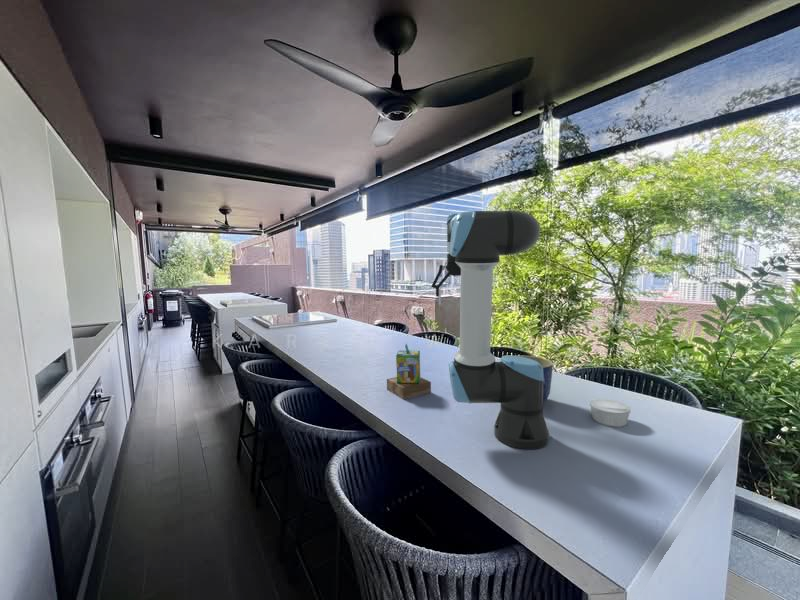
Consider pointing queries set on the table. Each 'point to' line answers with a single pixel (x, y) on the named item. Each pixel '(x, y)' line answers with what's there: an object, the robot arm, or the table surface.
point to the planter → (547, 374)
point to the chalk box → (408, 366)
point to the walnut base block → (408, 388)
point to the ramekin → (609, 412)
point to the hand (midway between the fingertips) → (456, 304)
